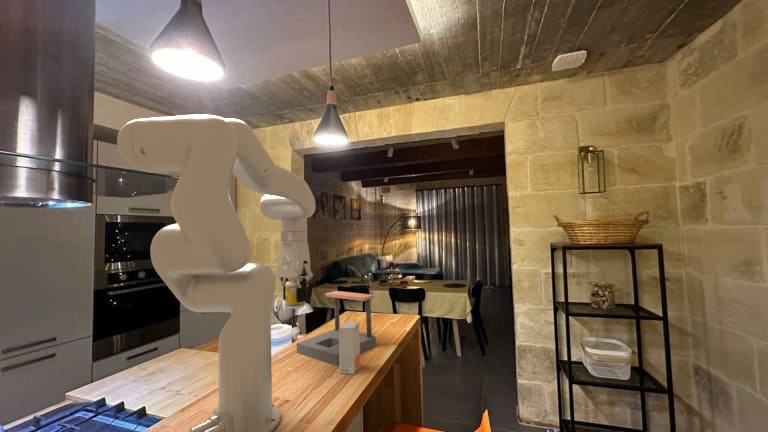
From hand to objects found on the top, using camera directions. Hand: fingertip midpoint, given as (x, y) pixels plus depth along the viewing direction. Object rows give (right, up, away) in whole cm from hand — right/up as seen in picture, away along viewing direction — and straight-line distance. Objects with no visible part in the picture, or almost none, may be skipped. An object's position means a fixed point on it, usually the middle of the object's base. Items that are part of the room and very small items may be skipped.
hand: (295, 300), depth 87 cm
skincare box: (+17, -18, -5) cm, 25 cm away
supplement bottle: (0, -2, 0) cm, 2 cm away
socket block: (+11, -19, +11) cm, 24 cm away
